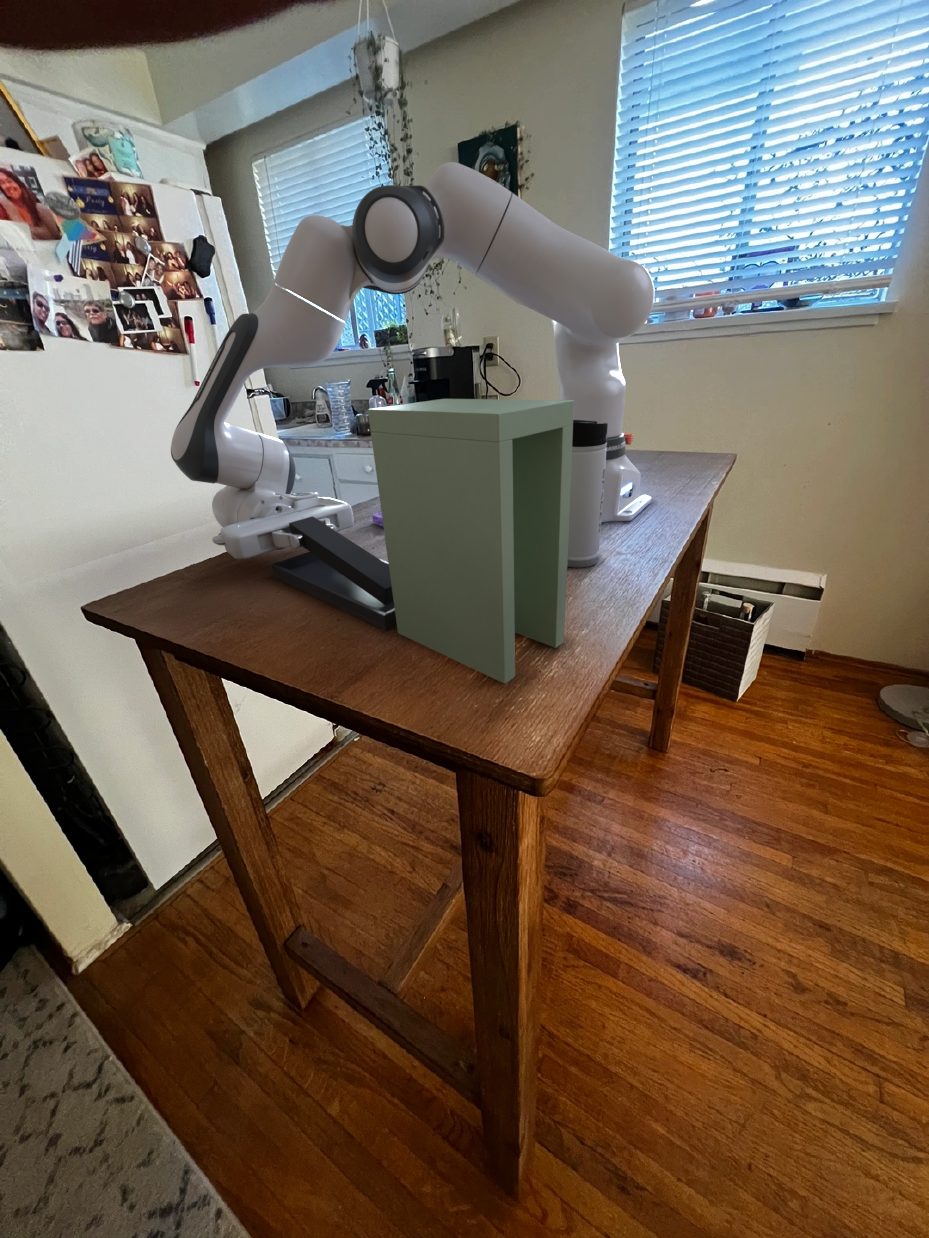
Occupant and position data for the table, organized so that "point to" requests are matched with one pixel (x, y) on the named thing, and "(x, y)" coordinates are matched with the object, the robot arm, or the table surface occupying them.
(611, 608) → the table surface
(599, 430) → the travel mug
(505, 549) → the stool
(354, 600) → the shallow dark gray tray
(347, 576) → the black pad
